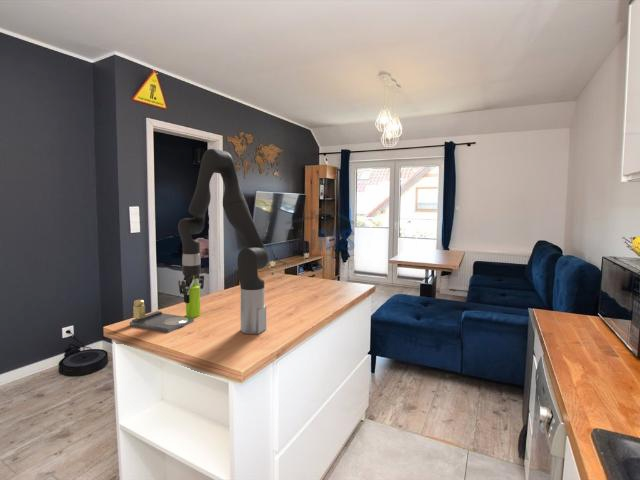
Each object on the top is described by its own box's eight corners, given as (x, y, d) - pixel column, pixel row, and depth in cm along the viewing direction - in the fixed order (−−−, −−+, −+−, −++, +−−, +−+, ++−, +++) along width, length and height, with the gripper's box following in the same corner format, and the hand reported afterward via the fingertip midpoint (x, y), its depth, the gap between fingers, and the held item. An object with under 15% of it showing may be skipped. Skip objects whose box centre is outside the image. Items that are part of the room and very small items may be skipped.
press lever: (146, 316, 142) (145, 300, 141) (139, 319, 138) (138, 302, 138) (139, 315, 143) (139, 299, 142) (132, 318, 140) (131, 301, 139)
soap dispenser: (183, 314, 154) (182, 270, 152) (200, 312, 157) (199, 269, 155) (183, 318, 149) (182, 273, 147) (200, 316, 151) (199, 272, 149)
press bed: (195, 321, 145) (195, 316, 145) (170, 332, 132) (169, 327, 132) (157, 315, 152) (157, 310, 152) (129, 325, 139) (129, 319, 139)
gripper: (186, 266, 143) (187, 306, 144) (209, 261, 156) (209, 298, 158) (172, 265, 145) (173, 304, 147) (195, 260, 159) (196, 296, 160)
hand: (192, 300), depth 152 cm, fingers closed on soap dispenser, 6 cm apart
